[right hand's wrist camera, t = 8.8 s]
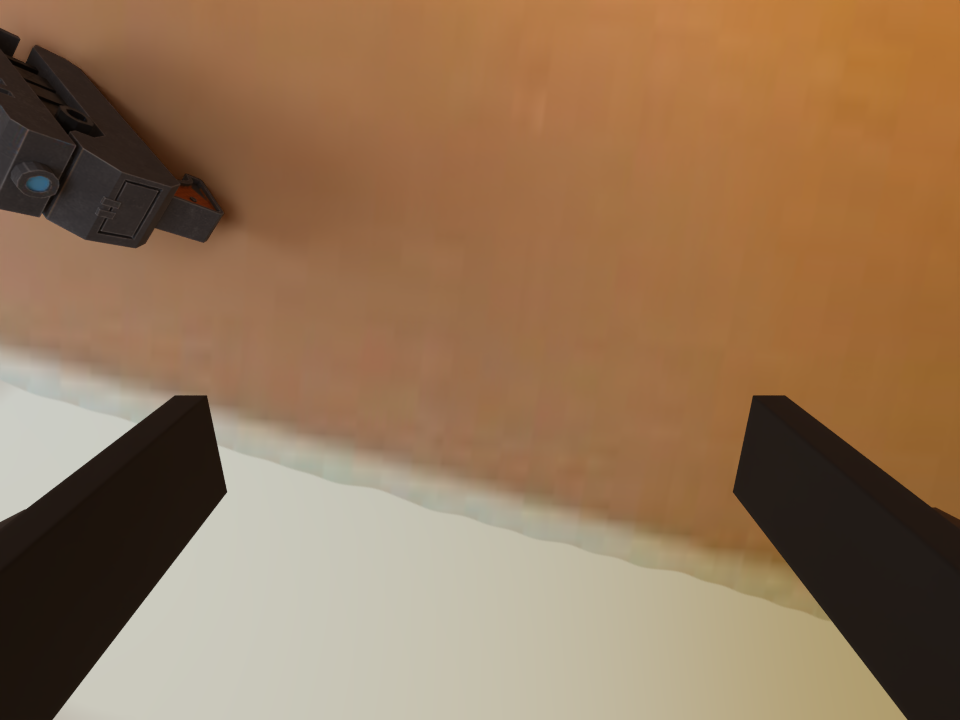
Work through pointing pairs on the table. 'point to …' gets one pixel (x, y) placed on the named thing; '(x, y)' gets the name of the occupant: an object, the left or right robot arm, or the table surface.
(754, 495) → the right robot arm
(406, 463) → the table surface
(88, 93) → the tool
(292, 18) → the table surface
